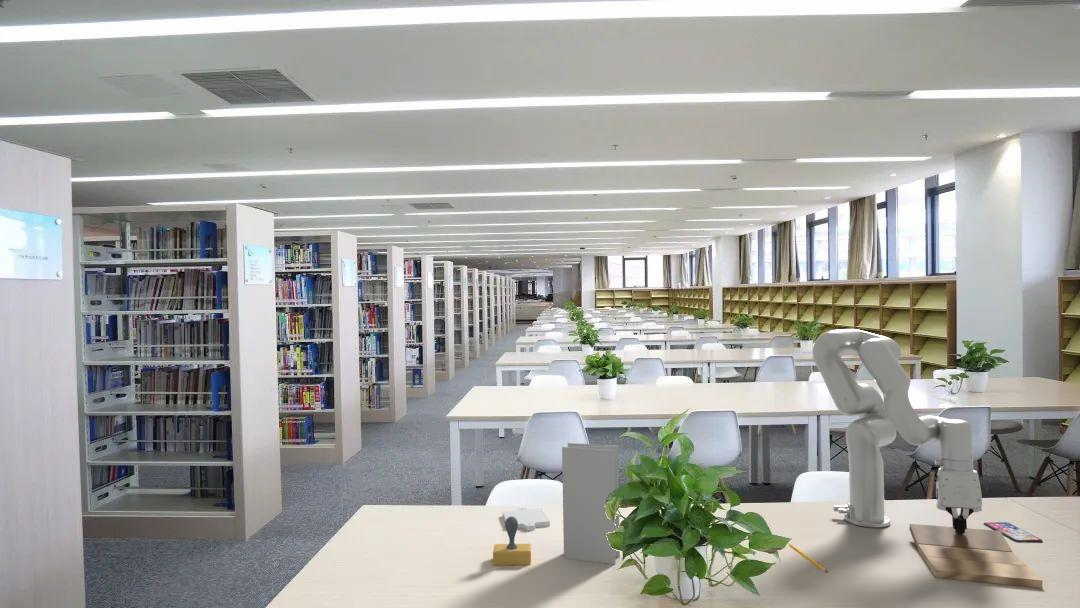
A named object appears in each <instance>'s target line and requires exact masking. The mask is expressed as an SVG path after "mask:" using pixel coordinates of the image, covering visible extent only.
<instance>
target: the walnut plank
mask: <svg viewBox="0 0 1080 608" xmlns="http://www.w3.org/2000/svg"><path fill="white" fill-rule="evenodd" d="M908 529H909V531H910V534H911V537H912V539H913V542H914V544H915V547H916V549H917V550H918V544H923V545H935V546H946V547H958V548H969V549H981V550H992V551H1004V552H1013V549H1012V548H1011V547H1010V545H1009V543H1008V542H1007V540H1006V538H1005V536H1004V535H1002V533H1001V532H1000V531H995V530H993V529H984V528H983V529H981V528H980V529H979V528H969V527H967V529H965V533H958V532H957V531H956V530H955V529H954V528H953V526H943V525H942V526H941V525H930V524H928V525H927V524H916V523H909V528H908Z"/></svg>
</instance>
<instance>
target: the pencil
mask: <svg viewBox="0 0 1080 608" xmlns="http://www.w3.org/2000/svg"><path fill="white" fill-rule="evenodd" d="M789 545H790V546H789ZM788 546H789V547H790V548H791V549H793V550H794V551H795V552H797V553H798V554H800V555H801V556H802V557H803V558H805V559H806V560H807V561H809V562H810V563H812V564H813V565H814V566H816V567H817V568H819V569H820V570H821V571H822V572H824V573H825V574H826V573H829V571H828V570H827V569H826V568H825V567H823V566H822V565H820V564H819V563H817V561H815V560H814V559H813V558H810V557H809V556H808V555H806V554H805V553H804V552H802V551H801V550H800V549H798V548H797V547H796V546H794V545H793V544H788Z"/></svg>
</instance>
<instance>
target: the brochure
mask: <svg viewBox="0 0 1080 608" xmlns="http://www.w3.org/2000/svg"><path fill="white" fill-rule="evenodd" d="M561 463H562V465H561V468H562V470H561V471H562V517H563V518H562V522H563V523H562V526H563V559H566V560H575V561H583V562H593V563H600V564H608V565H616V562H617V561H616V560H617V559H616V558H620V557H621V551H620V552H619V551H616V550H614V549H612V548H611V546H610V545H609V542H608V540H607V537H606V533H608V532H613V531H615V530H616V529H617V528H618V526H619V527H620V515H619V516H616V519H615V524H616V526H615V525H614V524H613V522H612V521H611V520H609V519H608V518H607V516H606V514H605V507H604V504H605V502H606V499H607V497H608V495H609V494H610V493H612V492H613V491H614V490H615V489H616V488H618V487H619V479H620V478H619V477H620V476H619V446H618V445H610V444H594V443H592V444H591V443H590V444H589V443H575V442H568V443H567V446H562V447H561Z"/></svg>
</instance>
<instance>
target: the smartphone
mask: <svg viewBox="0 0 1080 608" xmlns="http://www.w3.org/2000/svg"><path fill="white" fill-rule="evenodd" d="M983 525H984V526H986V527H987V528H989V529H990V530H995V531H1000V532H1001V533H1002V535H1003V537H1004V538H1005V537H1006V538H1007V539H1009V540H1011V541H1013V542H1015V543H1044V542H1043V539H1041V538H1039V537H1037V536H1035V535H1033V534H1031V533H1029V532H1028V531H1026V530H1023V529H1021V528H1020V527H1018V526H1016V525H1014V524H1012V523H1011V522H1006V521H1005V522H1001V521H1000V522H999V521H998V522H984V523H983Z"/></svg>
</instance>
